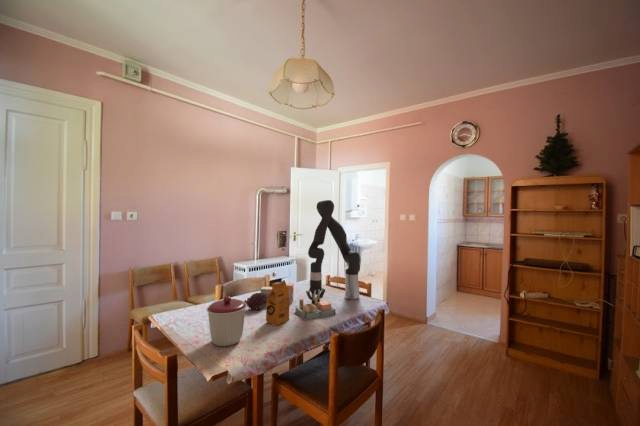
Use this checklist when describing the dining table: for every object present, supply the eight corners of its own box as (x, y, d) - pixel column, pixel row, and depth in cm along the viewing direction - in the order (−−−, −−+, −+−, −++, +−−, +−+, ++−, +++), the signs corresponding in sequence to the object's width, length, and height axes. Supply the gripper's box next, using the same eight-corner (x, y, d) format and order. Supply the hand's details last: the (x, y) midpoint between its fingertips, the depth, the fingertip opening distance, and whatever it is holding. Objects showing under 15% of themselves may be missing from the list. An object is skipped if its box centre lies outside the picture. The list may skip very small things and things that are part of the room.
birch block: (304, 307, 175) (305, 298, 175) (316, 316, 161) (316, 306, 161) (296, 309, 173) (296, 299, 172) (307, 318, 158) (307, 308, 158)
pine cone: (265, 303, 182) (265, 288, 182) (273, 307, 175) (274, 292, 175) (240, 309, 170) (240, 293, 170) (248, 314, 163) (248, 297, 163)
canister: (252, 343, 127) (253, 298, 127) (211, 355, 117) (212, 305, 117) (239, 329, 142) (239, 289, 142) (202, 338, 132) (202, 294, 131)
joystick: (318, 305, 180) (318, 296, 180) (331, 313, 166) (331, 303, 166) (310, 306, 177) (310, 297, 177) (322, 315, 163) (322, 305, 163)
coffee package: (263, 322, 151) (263, 282, 151) (278, 315, 162) (279, 278, 161) (276, 327, 146) (276, 285, 145) (291, 319, 156) (292, 281, 156)
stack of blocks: (260, 302, 184) (260, 284, 184) (262, 299, 190) (262, 282, 190) (292, 303, 183) (292, 285, 183) (293, 300, 189) (293, 282, 189)
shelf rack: (324, 306, 178) (324, 302, 178) (335, 314, 165) (335, 309, 165) (295, 311, 168) (295, 306, 168) (305, 319, 156) (305, 314, 156)
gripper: (322, 276, 184) (322, 302, 184) (303, 278, 177) (303, 305, 178) (328, 278, 177) (327, 305, 177) (308, 281, 171) (308, 308, 171)
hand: (315, 305), depth 178 cm, fingers closed on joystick, 2 cm apart
